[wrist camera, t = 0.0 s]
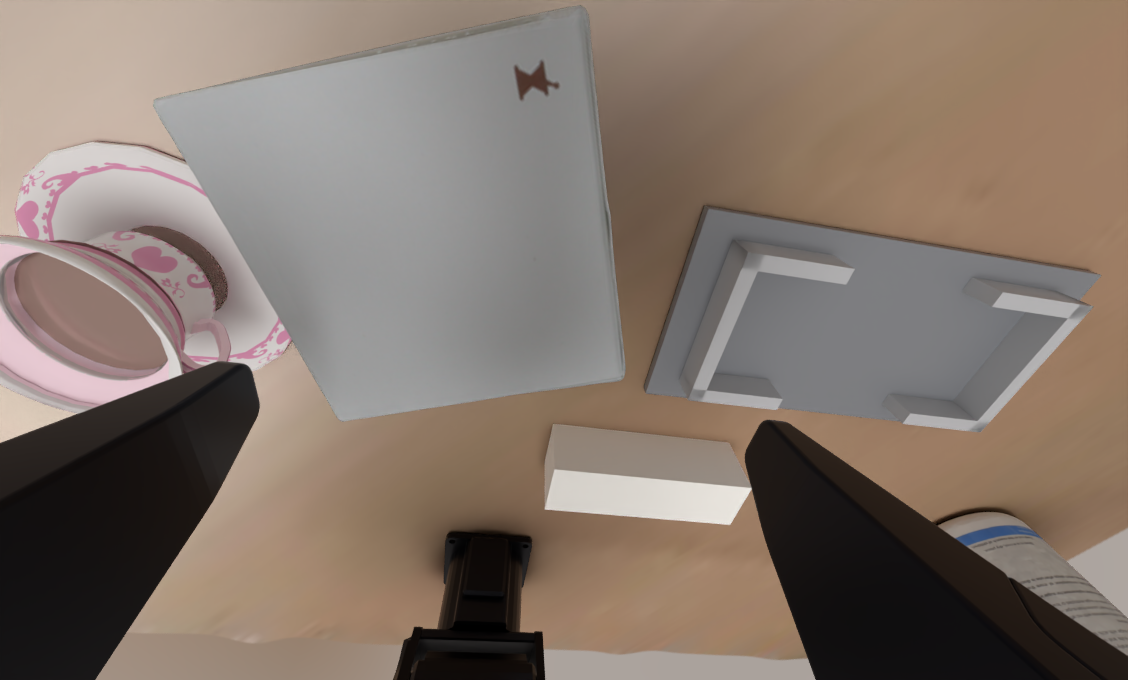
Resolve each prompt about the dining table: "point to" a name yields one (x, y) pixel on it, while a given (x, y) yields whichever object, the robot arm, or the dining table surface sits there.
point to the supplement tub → (1040, 571)
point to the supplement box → (423, 212)
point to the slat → (642, 475)
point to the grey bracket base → (858, 323)
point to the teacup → (120, 281)
